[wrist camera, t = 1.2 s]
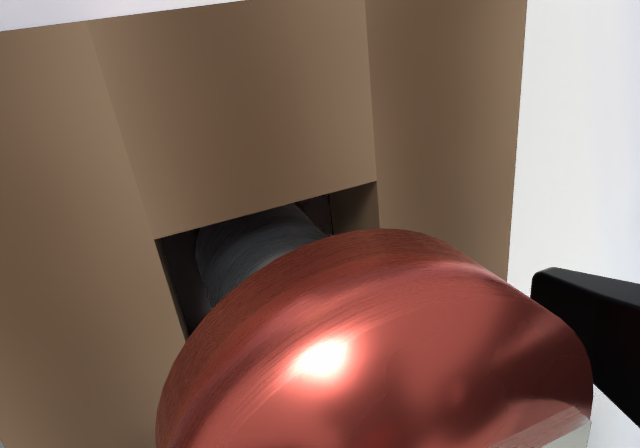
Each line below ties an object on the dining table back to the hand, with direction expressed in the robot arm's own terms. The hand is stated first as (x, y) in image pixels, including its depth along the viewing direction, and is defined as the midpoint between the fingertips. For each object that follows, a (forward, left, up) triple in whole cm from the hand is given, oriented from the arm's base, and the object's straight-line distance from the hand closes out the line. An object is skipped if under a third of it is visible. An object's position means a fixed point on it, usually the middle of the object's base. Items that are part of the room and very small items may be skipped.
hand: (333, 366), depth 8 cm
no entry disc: (0, 0, -5) cm, 5 cm away
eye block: (0, 0, -5) cm, 5 cm away
